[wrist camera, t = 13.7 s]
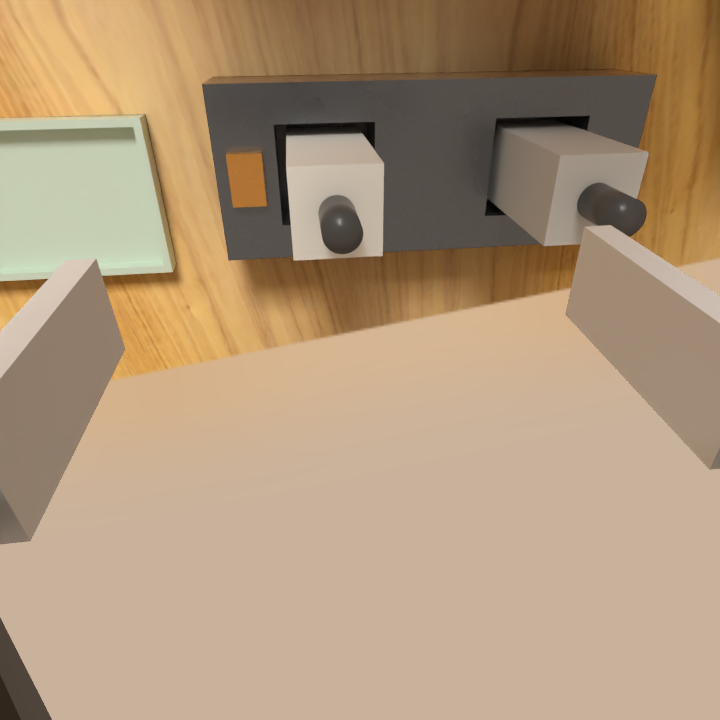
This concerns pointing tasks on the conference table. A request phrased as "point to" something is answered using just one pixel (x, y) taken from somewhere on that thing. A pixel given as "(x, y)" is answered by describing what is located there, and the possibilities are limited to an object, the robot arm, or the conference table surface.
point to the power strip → (402, 145)
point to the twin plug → (565, 180)
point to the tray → (80, 197)
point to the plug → (334, 193)
